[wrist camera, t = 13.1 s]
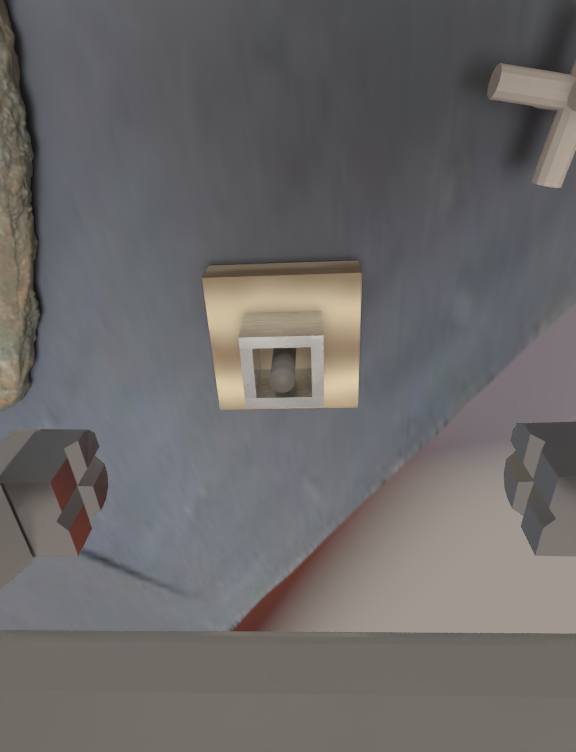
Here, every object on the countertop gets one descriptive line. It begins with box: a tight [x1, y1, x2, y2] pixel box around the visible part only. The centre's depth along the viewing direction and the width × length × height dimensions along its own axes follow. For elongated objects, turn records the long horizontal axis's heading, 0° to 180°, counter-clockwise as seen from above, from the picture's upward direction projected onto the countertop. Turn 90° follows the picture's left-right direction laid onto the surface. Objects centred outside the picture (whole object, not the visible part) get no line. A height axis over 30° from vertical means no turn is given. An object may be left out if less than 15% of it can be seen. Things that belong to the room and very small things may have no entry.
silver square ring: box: [238, 311, 324, 408], centre depth 38 cm, size 6×6×4 cm
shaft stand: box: [202, 260, 362, 410], centre depth 39 cm, size 12×12×8 cm
